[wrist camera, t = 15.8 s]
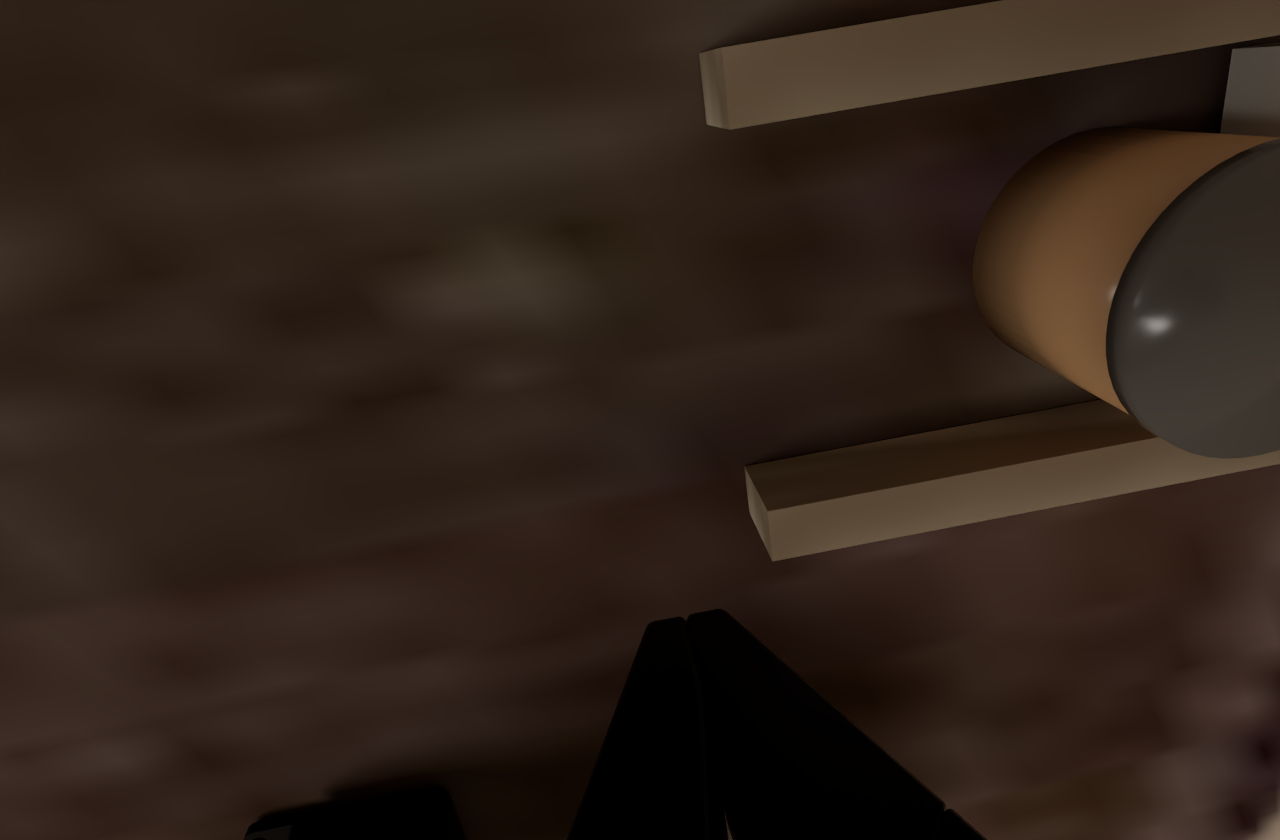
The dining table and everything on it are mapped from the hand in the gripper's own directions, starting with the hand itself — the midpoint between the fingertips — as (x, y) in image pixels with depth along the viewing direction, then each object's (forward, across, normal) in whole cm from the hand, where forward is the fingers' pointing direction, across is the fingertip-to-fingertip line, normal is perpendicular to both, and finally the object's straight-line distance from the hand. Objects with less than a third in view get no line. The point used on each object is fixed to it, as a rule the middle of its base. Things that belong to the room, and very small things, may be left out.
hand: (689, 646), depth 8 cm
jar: (+12, -12, 0) cm, 17 cm away
